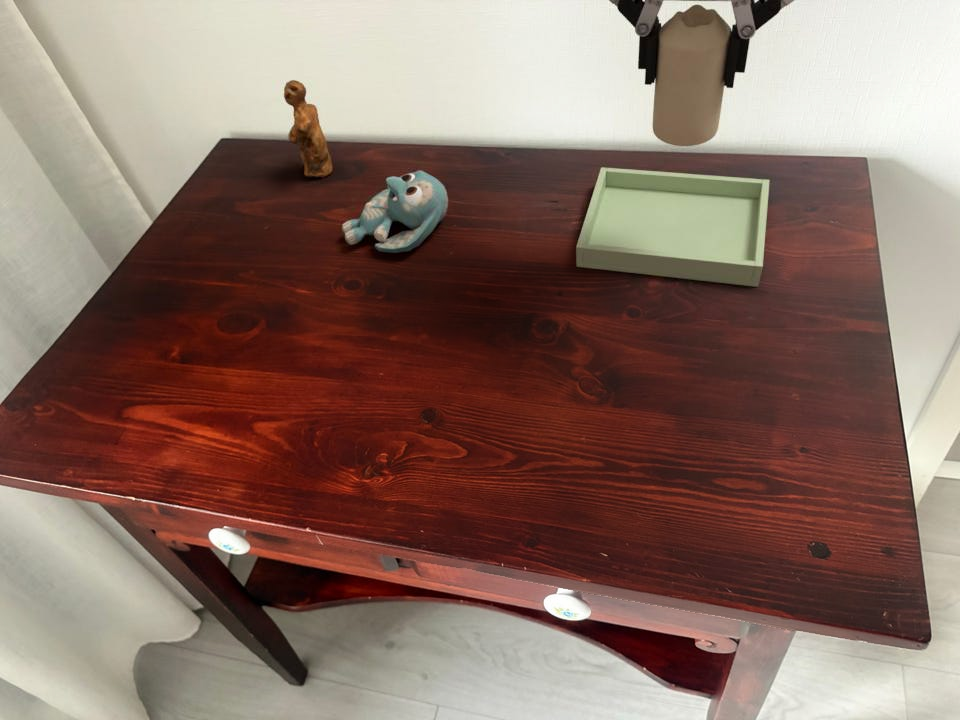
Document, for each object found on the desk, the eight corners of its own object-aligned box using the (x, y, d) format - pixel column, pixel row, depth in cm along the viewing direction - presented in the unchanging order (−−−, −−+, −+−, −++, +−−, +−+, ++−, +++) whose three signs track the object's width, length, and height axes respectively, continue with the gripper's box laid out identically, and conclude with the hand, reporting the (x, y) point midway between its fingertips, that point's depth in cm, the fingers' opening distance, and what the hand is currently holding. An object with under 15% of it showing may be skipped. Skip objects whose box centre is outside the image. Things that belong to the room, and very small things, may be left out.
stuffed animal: (318, 179, 81) (419, 132, 81) (346, 226, 87) (440, 182, 86) (336, 237, 74) (446, 186, 74) (365, 285, 80) (468, 237, 79)
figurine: (290, 182, 91) (257, 91, 82) (316, 156, 94) (287, 65, 85) (321, 189, 89) (291, 97, 80) (347, 162, 93) (321, 70, 84)
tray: (765, 200, 79) (769, 179, 77) (758, 287, 71) (762, 266, 69) (600, 186, 84) (601, 167, 82) (576, 266, 76) (575, 247, 74)
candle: (649, 146, 64) (656, 30, 56) (654, 110, 67) (662, -3, 60) (716, 148, 62) (733, 30, 55) (719, 112, 66) (735, -4, 58)
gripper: (862, -214, 48) (803, 58, 61) (593, -198, 52) (593, 52, 66) (866, -178, 43) (801, 107, 57) (571, -164, 48) (576, 97, 61)
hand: (690, 75), depth 61 cm, fingers closed on candle, 5 cm apart
